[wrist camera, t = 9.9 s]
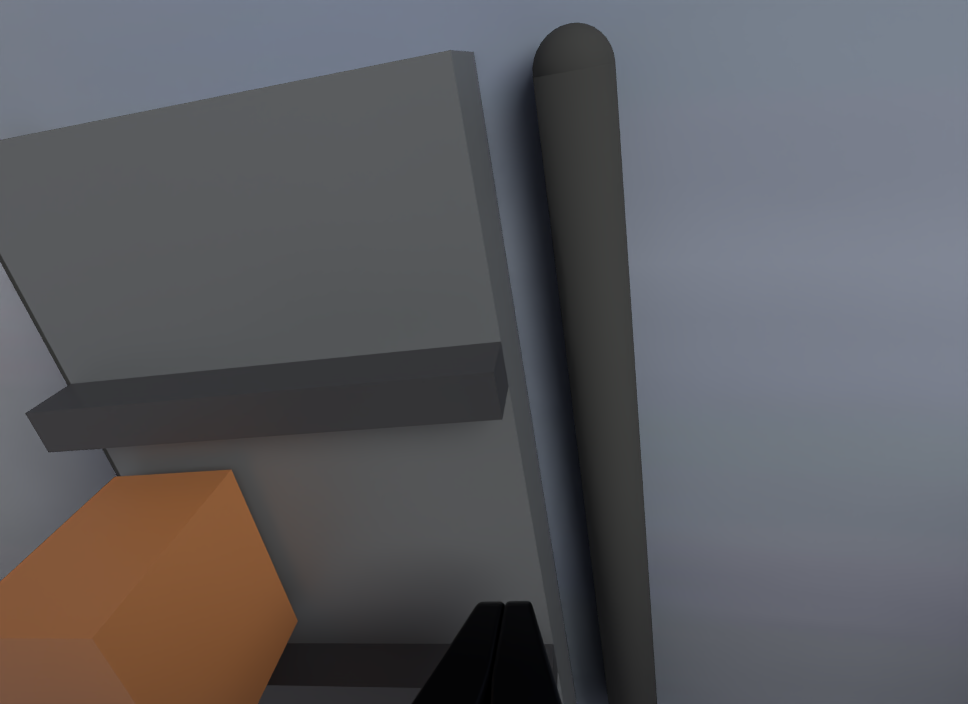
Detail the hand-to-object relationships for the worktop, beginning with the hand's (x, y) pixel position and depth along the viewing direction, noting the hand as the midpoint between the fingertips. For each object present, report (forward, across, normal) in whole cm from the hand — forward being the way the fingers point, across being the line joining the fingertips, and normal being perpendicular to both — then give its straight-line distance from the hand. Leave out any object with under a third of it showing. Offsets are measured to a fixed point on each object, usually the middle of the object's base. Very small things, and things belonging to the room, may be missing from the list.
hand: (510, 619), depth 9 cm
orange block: (+2, +6, 0) cm, 7 cm away
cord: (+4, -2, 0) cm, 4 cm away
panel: (+4, +4, 0) cm, 6 cm away
